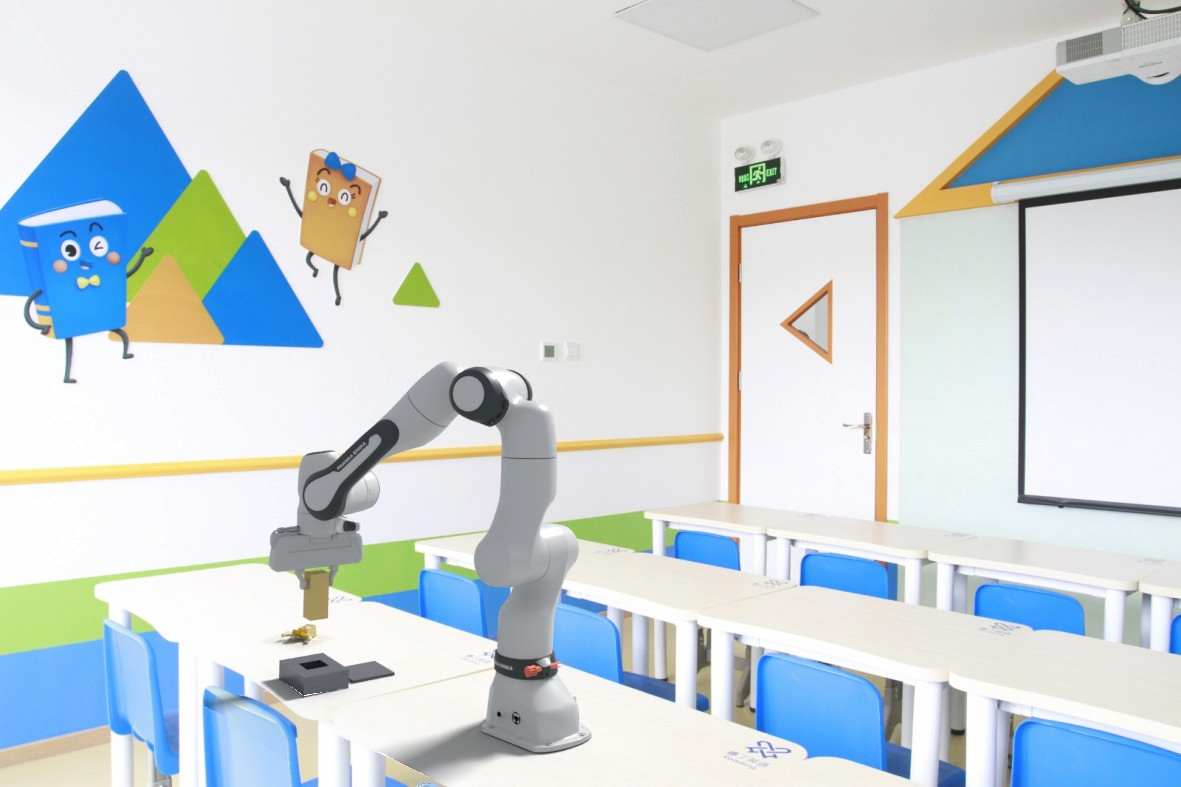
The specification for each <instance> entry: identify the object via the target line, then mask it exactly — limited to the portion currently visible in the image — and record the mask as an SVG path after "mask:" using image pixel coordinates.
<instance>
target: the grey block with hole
mask: <svg viewBox="0 0 1181 787" xmlns="http://www.w3.org/2000/svg"><path fill="white" fill-rule="evenodd" d="M278 669H279V670H278V679H279V680H280V681H282V682H284V684H286V685H287V684H288V685H287V686H288V687H290V686H291V687H293V688H294V689H296V690H297V691H298V692H300V693H301V694H302V695H303V696H304V695H307V694H313V693H320V692H325V693H328V692H327V691H330V692H334V690H335V691H339V690H338V689H340V690H344V689H349V685H350V683H349V682H350V681H349V669H348V668H346V667H344V665H343V664H342V663H340V662H338V661H336V660H335V659H334V658H332V657H331V656H329V655H328V654H325V653H324V652H320V653H313V654H309V655H303V656H297V657H291V658H285V659H280V660H279V665H278ZM291 687H290V688H291ZM293 688H292V689H293ZM294 689H293V690H294ZM298 692H297V693H298ZM320 694H321V693H320ZM302 695H301V696H302ZM303 696H302V697H303Z"/></svg>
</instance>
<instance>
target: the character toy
mask: <svg viewBox="0 0 1181 787" xmlns="http://www.w3.org/2000/svg"><path fill="white" fill-rule="evenodd" d="M280 636H281V637H282V638H285V637H288V640H292V639H294V638H297V639H299V640H306V641H307V642H310V641H312V640H313V638H314V637H316V636H317V624H312V623H311V624H310V623H305V624H304V625H301V626H299V627H298V628H297V629H292V631H291V632H284V633H281V635H280Z"/></svg>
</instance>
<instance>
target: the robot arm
mask: <svg viewBox="0 0 1181 787" xmlns="http://www.w3.org/2000/svg"><path fill="white" fill-rule="evenodd" d="M458 416H461V417H463V418H465V419H466V420H469V421H472V422H474V423H478V424H481V425H483V426H485V427H489V428H492V427H494V426H495V427H496V428H497V430H498V431H499V433H500V438H501V439H500V440H501V455H500V456H501V457H500V460H501V461H500V490H499V498H498V503H497V506H496V509H495V514H494V516H493V519H492V521H491V524H490V527H489V529H487V530H488V531H487V532H486V534H485V535H484V537H483V538H482V539H481V540H480V541H479V542H478V544H477V545H476V548H475V551H474V553H473V565H474V570H475V572H476V575H477V576H478V578H479V579H480V580H481V581H482V582H483V583H484V584H485V585H487V586H488V587H496V588H512V589H511V591H510V594H509V596H508V598H507V599H506V600H505V602H504V603H503V604H502V606H501V607H500V610H499V612H498V615H497V616H498V617H497V642H496V644H497V646H496V649H495V650H494V656H493V663H494V665H493V668H494V670H495V673H494V678H493V680H492V683H491V685H490V687H489V692H488V700H487V708H486V716H485V717H486V718H485V721H484V722H483V723H482V724H481V729H480V731H481V732H482V733H485V734H487V735H488V736H489V735H490V736H493V737H495V738H498V739H500V740H502V741H504V742H507V743H509V744H512V745H514V746H518V747H520V748H522V749H525V750H527V751H530V752H532V753H548V752H549V753H550V752H555V751H556V752H557V751H561V750H564V749H569V748H573V747H575V746H579V745H580V744H583V743H585V742H587V741H588V740H590V739H591V738H592V730H590V728H588V727H587V726H586V725H585V724H583V723H581V722H580V710H579V704H578V702H577V696H576V694H575V693H573V692H572V693H571V692H570V691H569V688H567V686H566V684H565V683H564V682H563V680H562V679H561V677H560V675H559V673H558V672H559V668H561V665H559V664H561V661H557V657H556V653H555V650H554V648H553V646H554V645H553V644H554V630H555V629H554V628H555V627H554V626H555V615H556V609H557V605H558V601H559V597H560V595H561V594H560V593H561V592H562V591H561V590H562V588H563V585H564V583H565V580H566V577H567V575H568V573H569V572H570V570H571V568H572V567H573V566H574V565H575V563H576V562H577V560H578V558H579V554H580V553H579V552H580V550H579V549H580V546H579V540H578V539H577V536H576V535H575V532H574V531H573V530H572V529H570V528H569V527H567V526H566V525H563V524H558V523H551V522H543V521H544V517H545V514H546V512H547V510H548V509H549V507H550V505H551V504H552V503H553V502H554V501H555V498H556V496H557V488H558V487H557V482H558V480H557V478H558V477H557V475H558V474H557V472H558V471H557V470H558V468H557V465H558V464H557V463H558V460H557V459H558V455H557V454H558V453H557V452H558V449H557V433H556V428H555V427H556V426H555V421H554V417H553V412H552V410H551V409H550V408H549V406H547V405H546V404H544V403H542V402H541V401H536V400H533V389H532V385H531V383H530V382H529V380H528V379H527V378H526V377H525V376H524V375H523V374H521V373H520V372H518V371H516V370H514V369H508V368H507V369H504V368H501V367H498V366H472V367H468V368H466V369H465V368H464V367H463V366H462V365H460V364H458V363H457V362H454V361H450V360H449V361H442V362H440V363H438V364H436V365H435V366H434V367H432V368H431V369H430V370H428V371H427V372H425V374H424V375H422V376H421V377H420V378H419V379H418V380H417V381H416V382H414V384H413V385H412V386H411V387H410V388H409V389H408V390H407V391H406V392H405V393H404V395H402V397H401V398H400V399H399V400H398V401H397V402H396V403H395V404H394V405H393V406H392V407H391V408H390V410H388V411H387V412H386V413H385V414H384V415H383V416H382V417H381V418H380V419H379V420H378V421H377V422H376V423H374V424H373V425H372V427H371V428H369V429H368V430H367V431H365V432H364V433H363V434H362V435H361V436H360V437H358V439H357V440H356V441H354V442H353V444H351V445H350V446H349V447H348V448H347V449H346V450H345V451H344V452H342V454H341V455H340V453H339V452H338V451H336V450H331V449H329V450H322V451H320V450H319V451H313V452H308V453H306V454H304V455H303V456H302V458H301V461H300V464H299V468H298V478H297V494H298V501H299V502H298V506H297V510H296V525H294V526H287V527H283V526H282V527H280V526H279V527H277V528H276V529H275V530H274V531H272V532H271V534H270V536H269V542H270V543H269V545H270V551H269V560H268V566H269V568H270V569H271V570H272V571H273V572H277V573H281V572H289V571H290V572H291V571H294V574H295V576H296V578H297V579H298V581H299V589H300V590H301V591H304V589H309V581H307V580H305V579H304V574H305V571H306V569H307V570H308V569H317V568H324V567H325V568H326V567H328V570H329V571H328V572H329V587H334V586H333V585H334V579H335V577H336V575H337V573H338V572H339V566H342V565H351V564H353V565H354V564H359V563H361V562H362V560H363V559H364V542H363V536H362V534H361V533H360V532H359V531H360V530H361V522H359V521H357V520H355V519H351V518H348V517H347V516H348V515H352V514H356V513H359V512H364V511H366V510H368V509H371V508H373V506H375V504H376V503H377V501H378V500H379V496H380V492H381V491H380V490H381V488H380V486H381V485H380V482H379V480H378V478H377V475H376V474H375V473H374V472H373V471H372V470H373V469H374V468H375V467H376V466H377V465H378V464H380V463H381V462H383V461H385V460H386V459H388V458H390V457H392V456H394V455H397V454H400V453H404V452H406V451H410V450H413V449H417V448H420V447H423V446H426V445H427V444H429V443H430V442H432V441H434V440H435V439H436V438H437V437H439V436H440V435H441V434H442V433H443V432H444V431H445V430H446V429H447V428H448V427H449V426H450V425H451V423H452V422H453V421H454V420H455V419H456V418H457V417H458Z"/></svg>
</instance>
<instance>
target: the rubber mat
mask: <svg viewBox="0 0 1181 787" xmlns="http://www.w3.org/2000/svg"><path fill="white" fill-rule="evenodd" d="M343 666H344V665H343ZM344 667H346V668H348V669H349V682H351V684H357V683H358V684H359V683H362V682H366V681H367V682H368V681H372V680H376V679H380V678H381V679H382V678H387V677H392V676H395V671H393V670H391V668H388V667H386V666H385V665H382V664H381V663H379V662H378V661H376V660H372V661H371V660H370V661H367V662H366V661H365V662H361V663H355V664H351V665H350V664H349V665H345V666H344Z"/></svg>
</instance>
